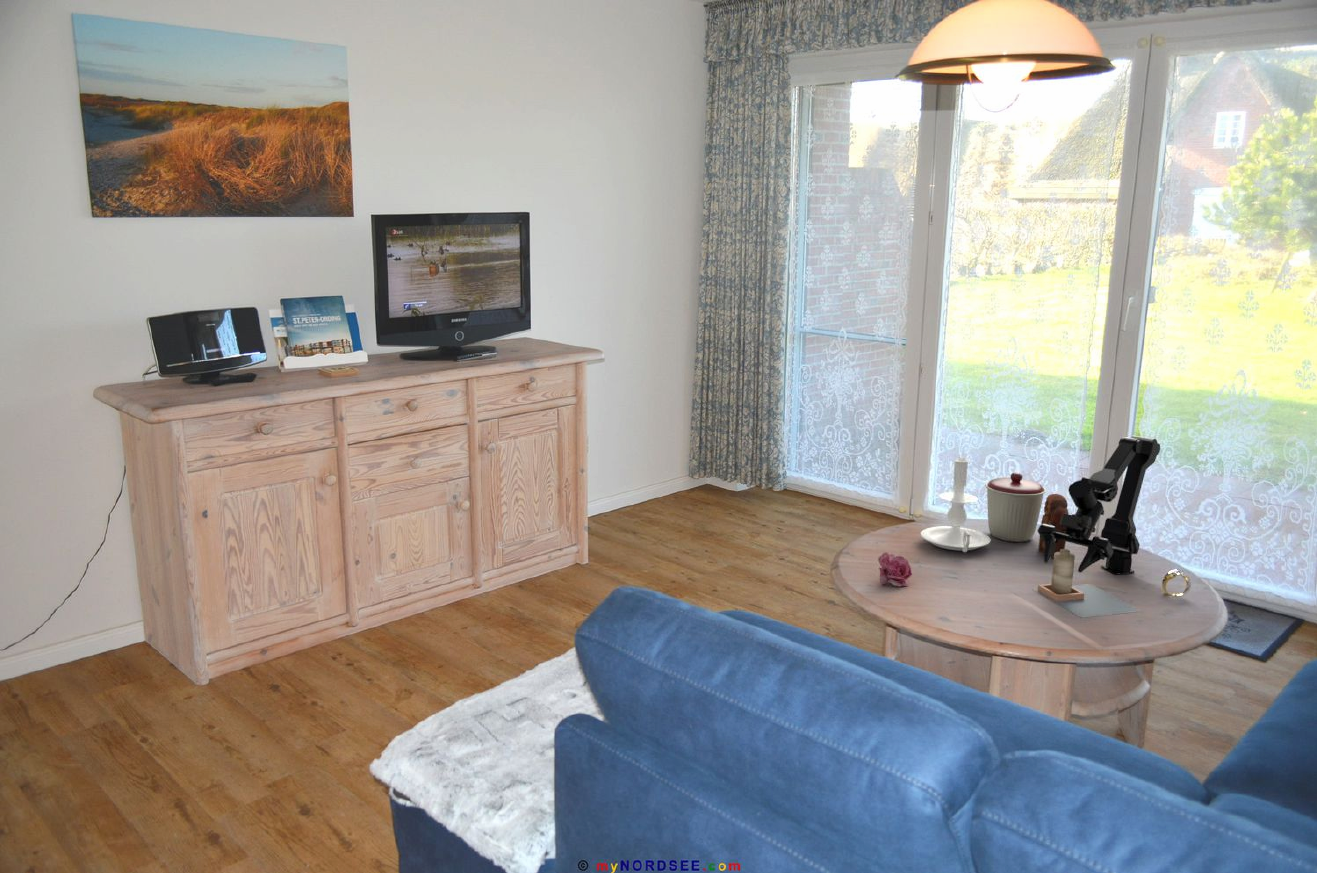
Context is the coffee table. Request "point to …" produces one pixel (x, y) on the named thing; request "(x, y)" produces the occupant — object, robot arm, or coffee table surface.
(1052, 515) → the wooden figurine
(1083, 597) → the board
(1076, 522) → the robot arm
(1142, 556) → the coffee table surface
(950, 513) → the candlestick
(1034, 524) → the canister
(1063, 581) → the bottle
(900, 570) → the flower
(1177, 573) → the ring
